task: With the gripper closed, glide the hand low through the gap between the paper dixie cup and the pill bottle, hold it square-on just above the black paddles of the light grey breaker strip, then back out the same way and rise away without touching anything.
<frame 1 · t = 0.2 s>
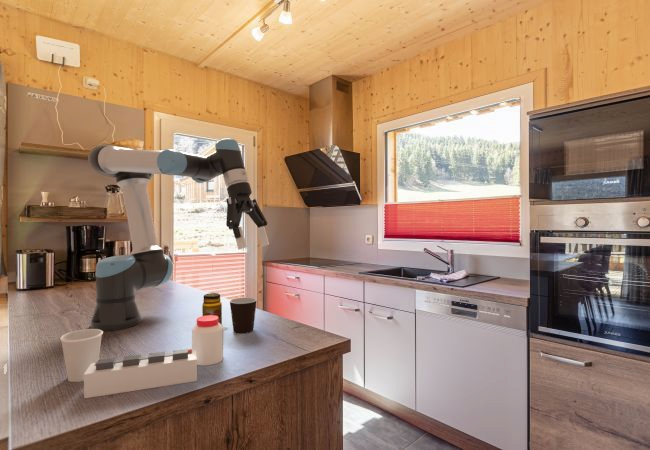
hand: (254, 246, 116), 28 cm above the counter, tool tilted 20°, fingers open, 13 cm apart
condiment: (210, 331, 118), on the counter
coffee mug: (245, 329, 120), on the counter
dixie cup: (82, 377, 84), on the counter
pill bottle: (208, 360, 94), on the counter
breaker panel: (144, 383, 81), on the counter
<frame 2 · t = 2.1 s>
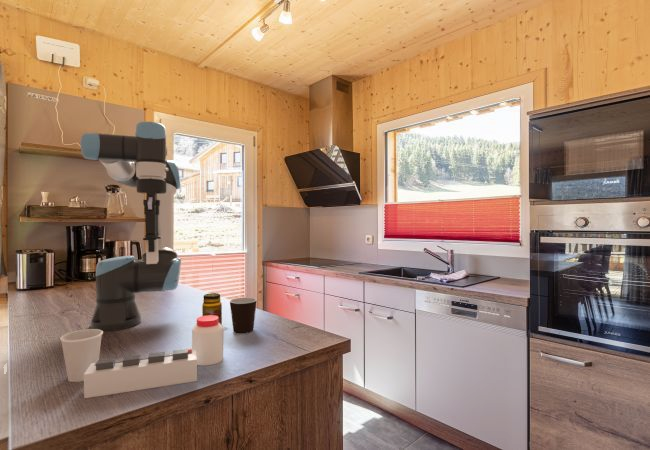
hand: (152, 262, 101), 25 cm above the counter, tool pointing down, fingers open, 3 cm apart
nothing on the counter moved.
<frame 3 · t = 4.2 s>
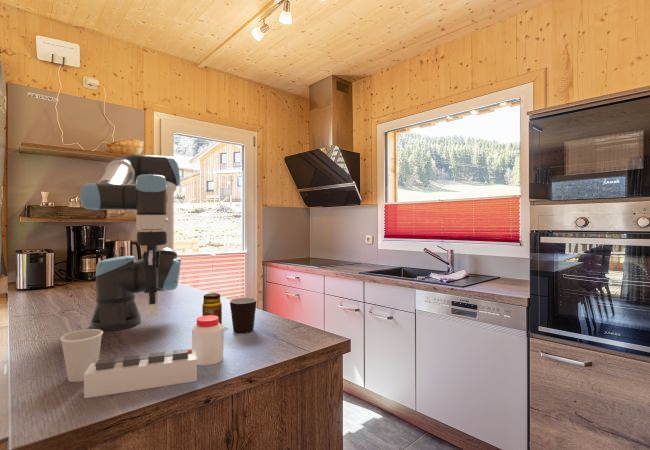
hand: (152, 314, 100), 10 cm above the counter, tool pointing down, fingers closed
nothing on the counter moved.
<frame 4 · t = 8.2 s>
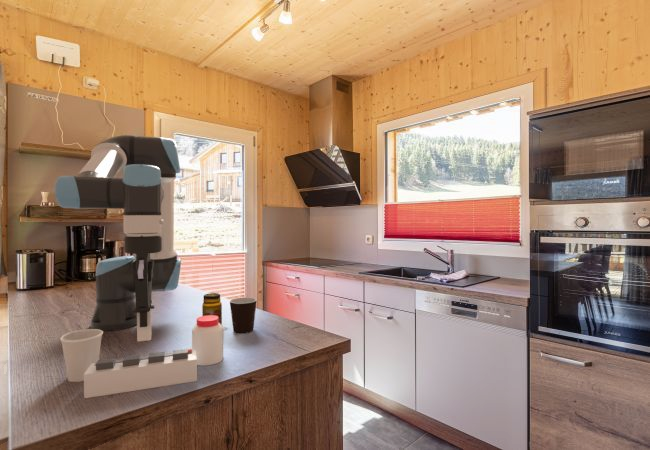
hand: (144, 339, 81), 10 cm above the counter, tool pointing down, fingers closed
nothing on the counter moved.
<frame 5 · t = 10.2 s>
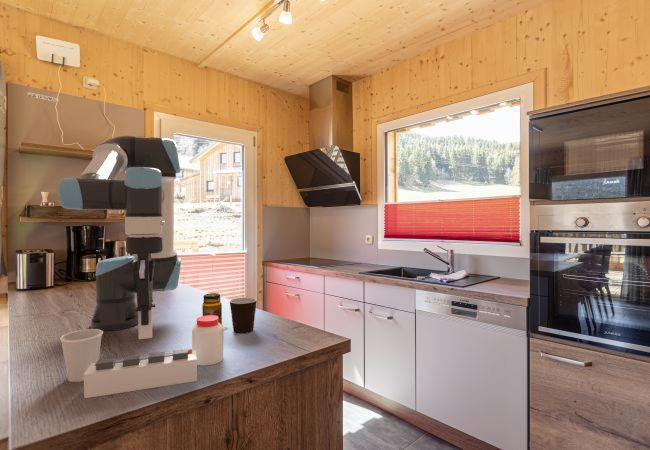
hand: (145, 337, 83), 10 cm above the counter, tool pointing down, fingers closed
nothing on the counter moved.
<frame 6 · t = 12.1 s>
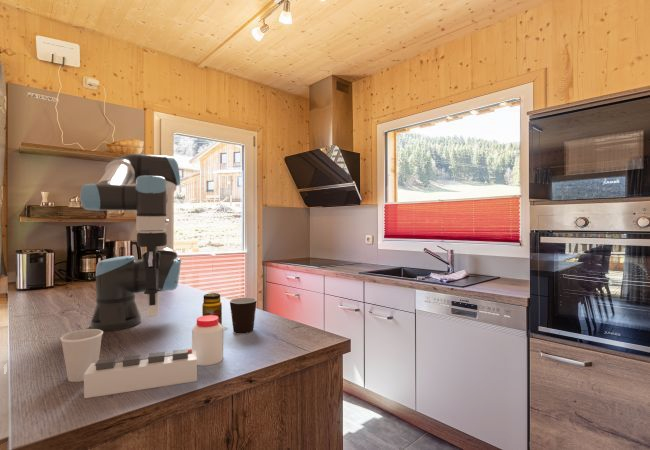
hand: (152, 315, 101), 10 cm above the counter, tool pointing down, fingers closed
nothing on the counter moved.
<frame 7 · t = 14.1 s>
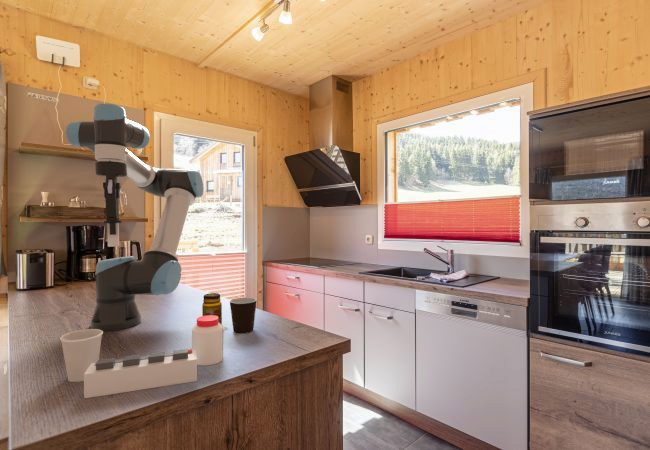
hand: (113, 246, 101), 29 cm above the counter, tool pointing down, fingers closed
nothing on the counter moved.
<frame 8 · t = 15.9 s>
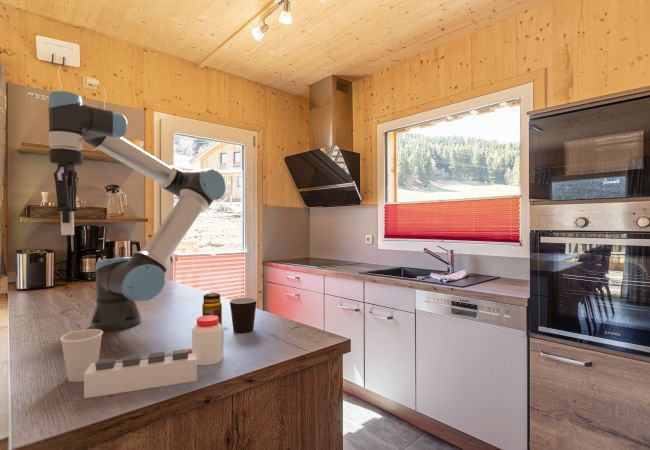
hand: (67, 234, 100), 32 cm above the counter, tool pointing down, fingers closed
nothing on the counter moved.
at the end: dixie cup moved 0.2 cm from its start; pill bottle moved 0.2 cm from its start; condiment moved 0.3 cm from its start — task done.
